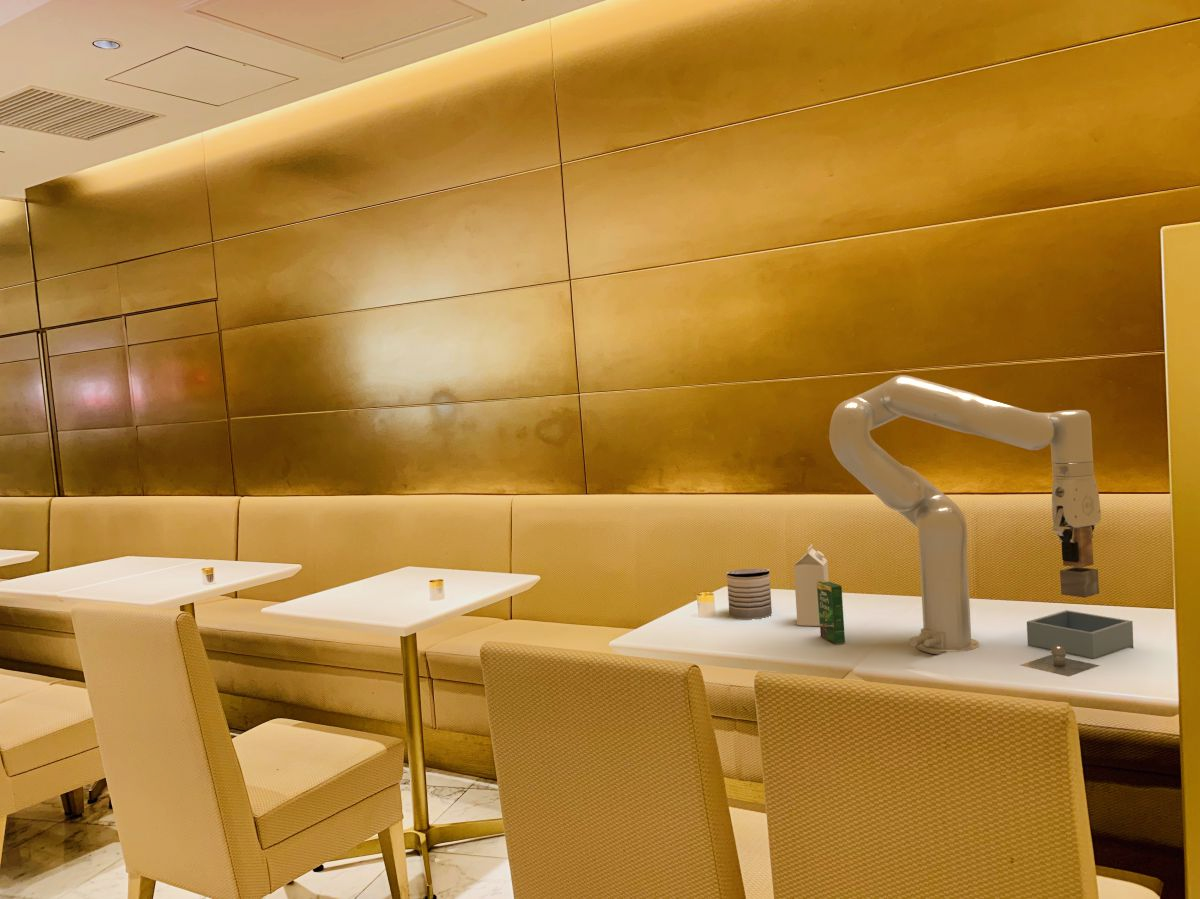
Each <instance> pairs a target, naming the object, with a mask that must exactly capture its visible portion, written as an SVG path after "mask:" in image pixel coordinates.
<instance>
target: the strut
mask: <svg viewBox="0 0 1200 899" xmlns="http://www.w3.org/2000/svg"><path fill="white" fill-rule="evenodd" d="M1066 527H1071V526H1069V525H1066ZM1067 531H1068V532H1069V534H1070V530H1067ZM1075 542H1078V554H1079V561H1078V562H1069V561H1063V560H1062V566H1065V567H1067V568H1064V569H1061V570H1059V578H1060V580H1059V581H1060V594H1061V595H1062V596H1063V595H1064V596H1070V597H1077V598H1089V597H1092V596H1095V595H1099V594H1100V586H1099V585H1100V584H1099V583H1100V582H1099V569H1098V568H1090V567H1088V566H1093V565H1094V563H1095V562H1094V551H1093V550H1094V549H1093V538H1092V529H1091V526H1086V527H1081V528H1076V541H1075ZM1068 567H1069V568H1068Z"/></svg>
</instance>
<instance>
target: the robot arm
mask: <svg viewBox="0 0 1200 899" xmlns="http://www.w3.org/2000/svg"><path fill="white" fill-rule="evenodd" d="M903 416H904V417H907V418H910V419H914V420H918V421H921V422H924V423H928V424H930V425H935V426H938V427H942V428H946V429H949V430H952V431H956V432H960V433H964V434H971V435H976V436H979V437H983V438H987V439H991V440H994V441H997V442H1001V443H1005V444H1008V445H1012V446H1015V447H1018V448H1022V449H1026V450H1029V451H1038V450H1041V449H1044V448H1046V447H1048V446H1049V445H1050V454H1051V457H1050V458H1051V470H1052V471H1051V475H1052V487H1051V516H1052V523H1053V525H1052V531H1053V532H1054V533H1055V534H1056V535H1057V536H1058V538H1059V542H1061V543H1060V544H1061V558H1062V562H1063V561H1069V562H1078V561H1079V554H1078V542H1075V541H1076V528H1081V527H1086V526H1091V529H1092V539H1093V538H1094V534H1093V533H1094V530H1095V527H1096V526H1097V524H1099V523H1100V522H1101V519H1102V512H1101V503H1100V495H1099V488H1098V484H1097V480H1096V476H1095V473H1094V457H1093V456H1094V454H1093V450H1094V449H1093V436H1092V435H1093V433H1092V419H1091V414H1090V413H1089V411H1087V410H1085V409H1069V410H1058V411H1054V412H1036V411H1033V410H1032V411H1031V410H1029V409H1024V408H1020V407H1018V406H1015V405H1014V406H1013V405H1010V404H1006V403H1003V402H998V401H996V400H993V399H988V398H986V397H984V396H981V395H978V394H976V393H974V392H971V391H970V392H969V391H966V390H963V389H959V388H955V387H951V386H948V385H944V384H941V383H937V382H933V381H930V380H926V379H922V378H918V377H915V376H911V375H907V374H906V375H905V374H900V375H895V376H894V377H892V378H890V379H888V380H887V381H884V382H883V383H881V384H879V385H877V386H875V387H873V388H871V389H868V390H866V391H865V392H862V393H859V394H857V395H855V396H853V397H851V398H849V399H847V400H846V399H845V400H843V401H842V402H840V403H839V404H838V405H837V406H836V407H835V409H834V411H833V413H832V416H831V419H830V424H829V431H828V434H829V436H828V437H829V444H830V447H831V450H832V453H833V454H834V456H835V458H836V459H837V461H838V462H839V464H840V465H841V466H842V467H843V468H844V469H845V470H847V472H849V473H850V474H851V475H853V477H855V479H857V481H858V482H860V483H861V484H862V485H863V486H864V487H865V488H867V489H868V490H869V491H870V492H871V493H873V495H874V496H876V497H877V498H878V499H879V500H880V501H881V502H882V503H883V504H884V505H885V506H886V507H888V508H889V509H891V510H893V511H896V512H897V513H899V514H901V516H903V517H904V518H906V520H908V521H909V522H910V523H911V524H912V525H914V526H915V527H917V532H918V548H919V549H918V550H919V572H920V574H919V576H920V586H921V588H920V590H921V609H922V625H923V628H920V633H919V635H914V636H912V637H910V638H909V643H910V645H911V646H912V647H917V649H918V650H920V651H922V652H924V653H927V654H932V655H939V656H940V655H943V654H946V653H958V652H968V651H973V650H976V649H978V648H979V647H980V642H979V641H977V640H976V639H973V638H972V626H971V625H972V624H971V605H970V588H969V587H970V586H969V585H970V584H969V568H968V567H969V566H968V564H969V563H968V525H967V520H966V518H965V514H964V513H963V511H962V510H961V508H960V507H959V506H958V504H957V503H956V502H954V500H952V499H951V498H950V497H949V496H947V495H946V494H945V493H943V492H942V491H941V490H940V489H938V488H937V487H936V486H935V484H932V483H931V482H930V481H929V480H928V479H926V477H925V476H923V475H921V473H919V472H918V471H917V470H915V469H914V468H912V467H910V466H908V465H903V464H901V463H900V462H899V461H898V460H897V459H895V458H894V457H893V456H891V455H890V454H889V453H888V452H887V451H886V450H885V449H883V448H882V446H880V445H879V444H877V443H876V441H875V440H874V439H873V438H872V436H871V433H870V431H872V430H874V429H876V428H879V427H881V426H883V425H885V424H887V423H889V422H893V421H894V420H897V419H898V418H901V417H903ZM1067 525H1069V526H1071V527H1066V526H1067ZM1067 530H1070V534H1069V532H1068V531H1067Z"/></svg>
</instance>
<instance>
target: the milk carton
mask: <svg viewBox="0 0 1200 899" xmlns="http://www.w3.org/2000/svg"><path fill="white" fill-rule="evenodd" d="M813 546H814V545H813V544H810V545H809V546H808V548H807V549H806V551H807V552H806V553H805V554H804V555H803V556H802V557H801V558H800V559H798V560H797V562H795V563H794V565H793V572H794V573H793V574H794V575H793V576H794V588H795V590H794V592H795V608H796V610H795V611H796V624H797V626H804V627H806V626H808V627H810V626H811V627H820V620H819V607H818V594H817V582H818V581H829V582H830V580H829V567H828V566H829V563H828V560H827V559H826V558H825V555H824V553H822V551H819V550H817V551H816V550H815V549H814V547H813Z"/></svg>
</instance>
